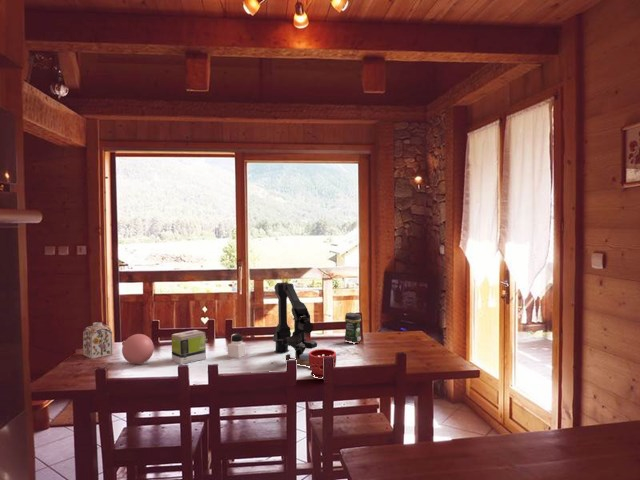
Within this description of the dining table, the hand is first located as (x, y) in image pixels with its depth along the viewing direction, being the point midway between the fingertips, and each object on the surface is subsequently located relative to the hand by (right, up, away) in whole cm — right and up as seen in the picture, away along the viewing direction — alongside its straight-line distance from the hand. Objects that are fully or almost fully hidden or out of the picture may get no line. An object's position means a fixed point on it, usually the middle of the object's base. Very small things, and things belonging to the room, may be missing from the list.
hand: (299, 358), depth 253 cm
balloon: (-86, -2, -2) cm, 86 cm away
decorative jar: (-112, -1, +12) cm, 113 cm away
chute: (+3, -2, -2) cm, 4 cm away
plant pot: (+12, -3, -24) cm, 27 cm away
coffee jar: (+31, -1, +43) cm, 53 cm away
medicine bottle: (-35, -2, +12) cm, 37 cm away
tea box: (-59, -2, +4) cm, 60 cm away
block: (+5, -2, -3) cm, 6 cm away
